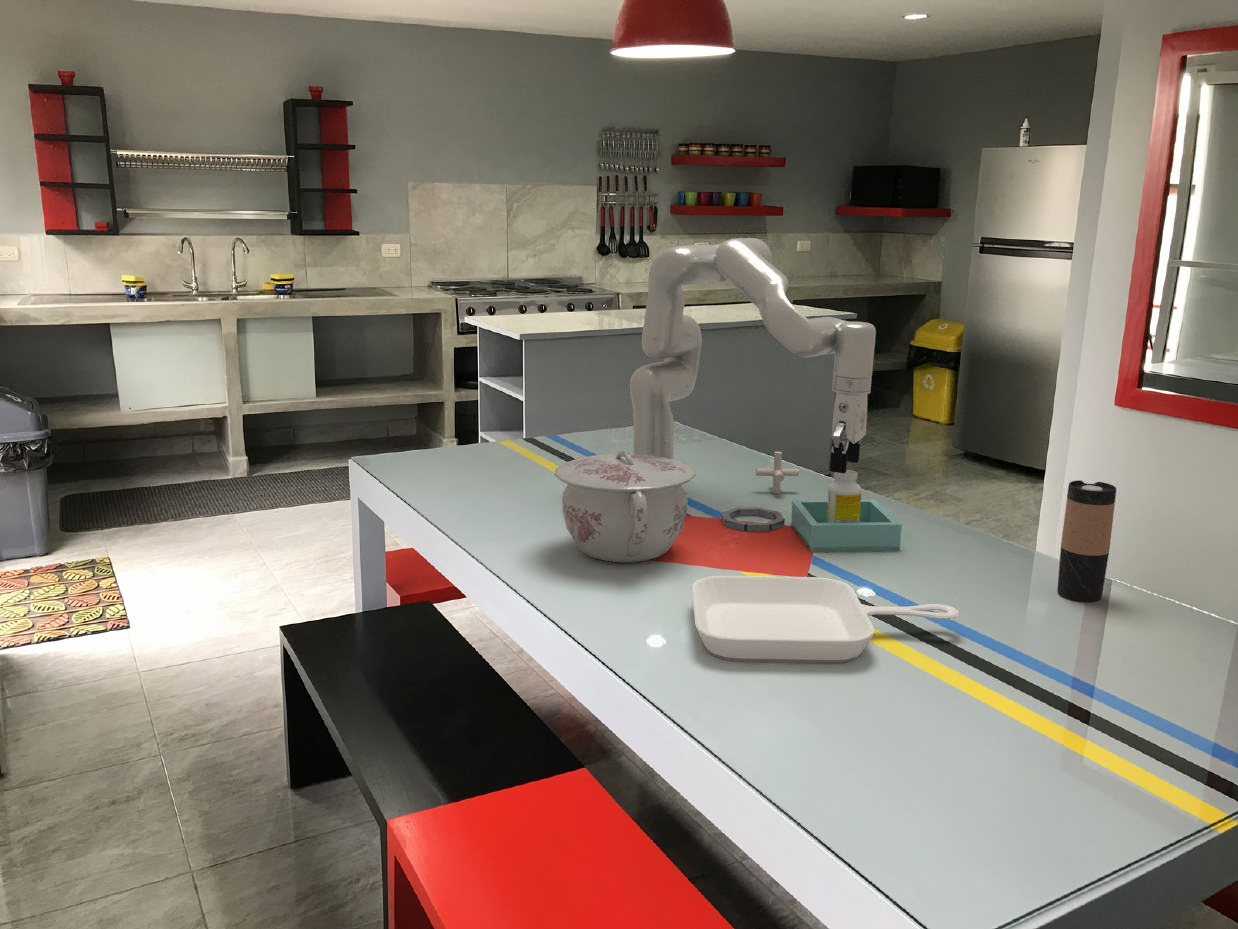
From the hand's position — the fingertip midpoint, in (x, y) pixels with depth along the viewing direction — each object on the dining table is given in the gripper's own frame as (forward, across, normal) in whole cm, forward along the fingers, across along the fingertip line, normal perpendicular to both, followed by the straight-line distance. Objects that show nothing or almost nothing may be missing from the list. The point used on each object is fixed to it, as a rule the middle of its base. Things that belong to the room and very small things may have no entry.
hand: (844, 466), depth 204 cm
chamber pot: (+16, -30, +35) cm, 49 cm away
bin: (+15, 0, -1) cm, 15 cm away
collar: (+16, +1, +19) cm, 25 cm away
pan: (+15, -50, -12) cm, 53 cm away
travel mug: (+14, -13, -47) cm, 50 cm away
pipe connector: (+16, +27, +22) cm, 38 cm away
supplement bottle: (+14, 0, -1) cm, 14 cm away
